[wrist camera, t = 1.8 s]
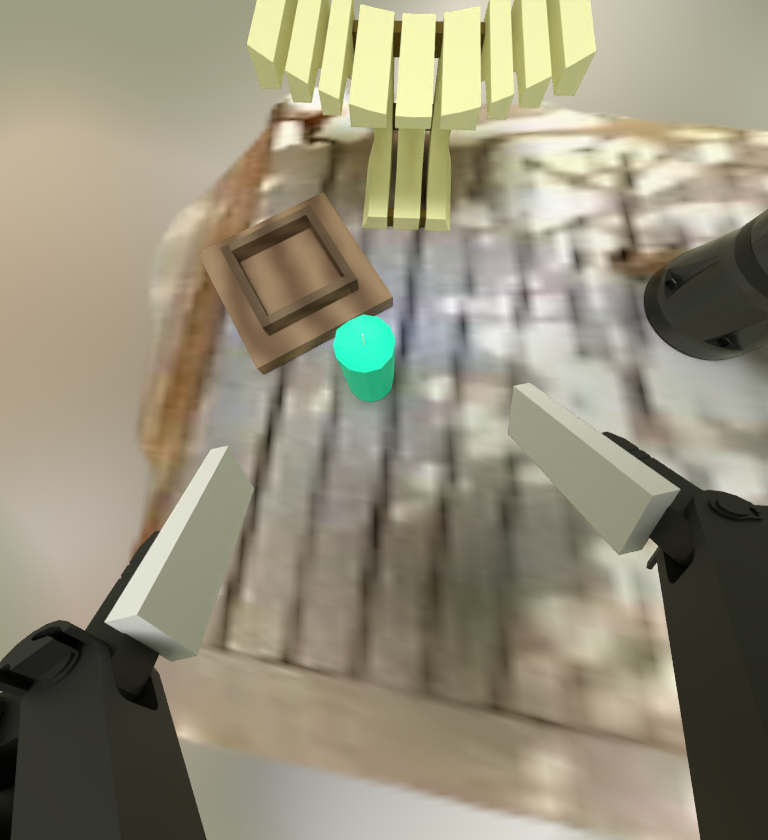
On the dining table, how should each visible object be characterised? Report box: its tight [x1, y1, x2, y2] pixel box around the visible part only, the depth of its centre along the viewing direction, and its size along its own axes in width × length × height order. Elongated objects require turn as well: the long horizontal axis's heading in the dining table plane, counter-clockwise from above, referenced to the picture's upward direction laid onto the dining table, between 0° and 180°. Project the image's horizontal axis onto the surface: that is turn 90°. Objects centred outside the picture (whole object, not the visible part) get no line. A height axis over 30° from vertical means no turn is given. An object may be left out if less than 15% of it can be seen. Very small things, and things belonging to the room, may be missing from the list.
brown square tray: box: [198, 193, 393, 374], centre depth 38 cm, size 20×20×4 cm
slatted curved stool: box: [247, 0, 596, 231], centre depth 34 cm, size 30×16×18 cm, turn 86°
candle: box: [333, 315, 395, 402], centre depth 31 cm, size 6×6×12 cm
